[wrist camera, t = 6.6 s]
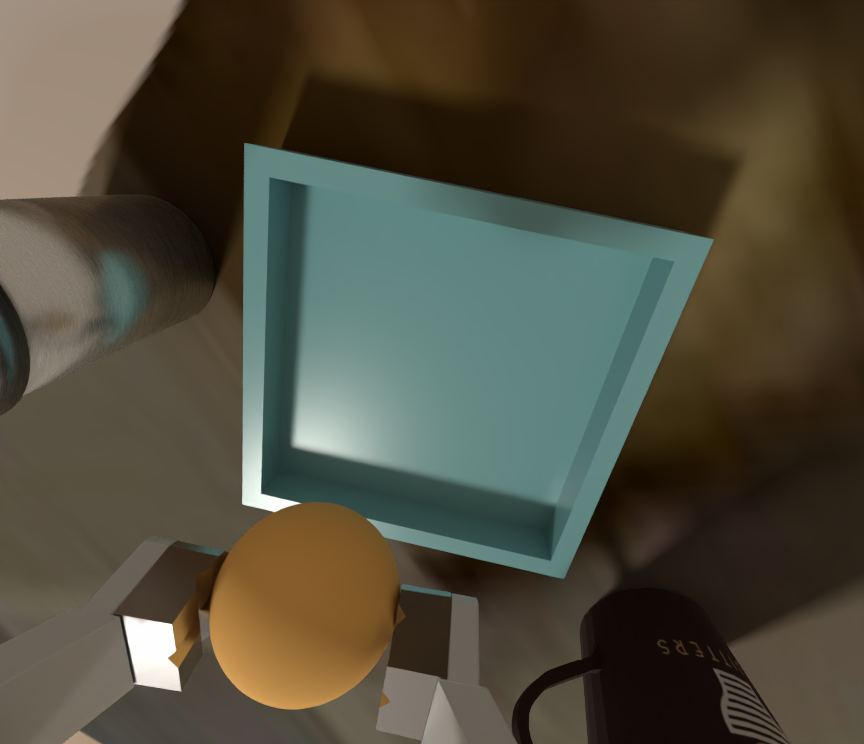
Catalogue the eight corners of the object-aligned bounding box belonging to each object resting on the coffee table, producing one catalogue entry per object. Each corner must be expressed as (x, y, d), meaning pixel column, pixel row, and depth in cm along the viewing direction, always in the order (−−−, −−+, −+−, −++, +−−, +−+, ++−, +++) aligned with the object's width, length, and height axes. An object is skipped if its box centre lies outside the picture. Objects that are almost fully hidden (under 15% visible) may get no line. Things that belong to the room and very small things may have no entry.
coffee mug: (766, 656, 22) (957, 986, 13) (610, 703, 25) (679, 1001, 16) (654, 500, 19) (801, 786, 10) (492, 574, 22) (494, 848, 13)
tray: (679, 230, 15) (713, 239, 13) (555, 535, 21) (564, 578, 18) (280, 148, 15) (244, 142, 13) (268, 469, 21) (242, 504, 19)
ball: (421, 483, 9) (393, 641, 6) (400, 595, 11) (369, 770, 8) (261, 453, 9) (152, 595, 6) (262, 569, 11) (174, 732, 8)
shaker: (218, 204, 16) (-52, 229, 8) (220, 338, 19) (10, 463, 10) (80, 175, 17) (-321, 171, 8) (99, 311, 19) (-202, 413, 11)
